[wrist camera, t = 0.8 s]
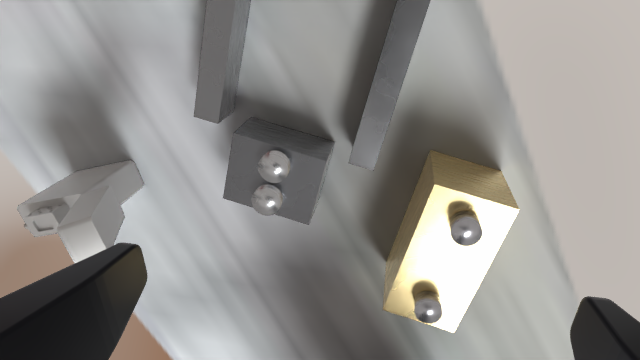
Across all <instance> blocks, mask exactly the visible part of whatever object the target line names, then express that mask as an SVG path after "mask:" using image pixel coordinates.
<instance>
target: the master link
mask: <svg viewBox="0 0 640 360" xmlns="http://www.w3.org/2000/svg"><path fill="white" fill-rule="evenodd" d="M518 211H519V208H518V206H517V203H516V201H515V199H514V197H513V195H512V193H511V191H510V189H509V187H508V184H507V182H506V180H505V178H504V176H503V174H502V172H501V171H499V170H496V169H492V168H489V167H486V166H482V165H479V164H476V163H472V162H469V161H465V160H462V159H459V158H455V157H452V156H449V155H445V154H442V153H438V152H435V151H432V150H430V152H429V155H428V157H427V160H426V162H425V165H424V167H423V170H422V172H421V175H420V178H419V180H418V183H417V185H416V188H415V190H414V193H413V195H412V198H411V200H410V203H409V206H408V208H407V211H406V213H405V216H404V218H403V221H402V223H401V226H400V229H399V231H398V234H397V236H396V239H395V241H394V244H393V246H392V249H391V251H390V254H389V257H388V259H387V262H386V272H385V285H384V298H383V310H385V311H388V312H391V313H394V314H397V315H400V316H403V317H407V318H410V319H413V320H416V321H419V322H422V323H425V324H428V325H432V326H435V327H438V328H441V329H444V330H447V331H450V332H455V330H456V328H457V326H458V324H459V322H460V320H461V318H462V317H463V315H464V313H465V311H466V309H467V307H468V305H469V303H470V302H471V300H472V298H473V296H474V294H475V292H476V290H477V288H478V287H479V285H480V283H481V281H482V279H483V277H484V275H485V273H486V272H487V270H488V268H489V266H490V264H491V262H492V260H493V258H494V257H495V255H496V253H497V251H498V249H499V247H500V245H501V243H502V242H503V240H504V238H505V236H506V234H507V232H508V230H509V228H510V227H511V225H512V223H513V221H514V219H515V217H516V215H517V213H518Z"/></svg>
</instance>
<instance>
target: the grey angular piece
mask: <svg viewBox="0 0 640 360" xmlns="http://www.w3.org/2000/svg"><path fill="white" fill-rule="evenodd" d="M143 186H144V182H143V180H142V178H141V176H140V174H139V171H138V169H137V167H136V165H135V163H134V162H133V161H131V160H128V161H123V162H118V163H113V164H108V165H104V166H99V167H94V168H89V169H84V170H79V171H76V172H74V173H72V174H71V175H69V176H67V177H65V178H64V179H62V180H60V181H59V182H57V183H55V184H54V185H52V186H50V187H49V188H47V189H45V190H43V191H42V192H40V193H38V194H37V195H35V196H33V197H32V198H30V199H28V200H27V201H25V202H23V203H21V204H20V205H18V207H17V210H18V212H19V214H20V215H21V217H22V219H23V220H24V222H25V224H24V227H25V228H26V229H28V230H29V231H30V232H31V233H32V234H33V235H34V237H38V236H45V235H50V234H57V233H58V235H59V236H60V238H61V240H62V242H63V243H64V245H65V247H66V249H67V250H68V252H69V254H70V256H71V258H72V260H73V261H74V263H77V262H79V261H81V260H83V259H86V258H88V257H90V256H92V255H94V254H96V253H99V252H101V251H103V250H105V249H107V248H109V247H111V246H113V245H114V242H115V240H116V237H117V235H118V232H119V230H120V227H121V225H122V223H123V220H124V218H125V216H124V212H123V210H122V208H121V206H120V205H122V204H123V203H124V202H125V201H127V200H128V199H129V198H130V197H132V196H133V195H134V194H135V193H137V192H138V191H139V190H140V189H142V188H143Z"/></svg>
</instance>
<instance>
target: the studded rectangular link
mask: <svg viewBox="0 0 640 360" xmlns="http://www.w3.org/2000/svg"><path fill="white" fill-rule="evenodd" d="M250 3H251V0H207V5H206V13H205V22H204V31H203V40H202V49H201V57H200V66H199V75H198V84H197V93H196V101H195V110H194V117H197V118H200V119H204V120H207V121H210V122H214V123H217V124H218V123H220V122H221V121H222V120H224V119H225V118H226V117H227V116H229V115H230V114H231V113H232V112H233V111H234V105H235V98H236V92H237V86H238V79H239V73H240V66H241V60H242V54H243V47H244V41H245V35H246V28H247V22H248V16H249V9H250ZM429 3H430V0H397V3H396V6H395V9H394V13H393V16H392V19H391V23H390V26H389V29H388V33H387V36H386V39H385V43H384V46H383V49H382V52H381V56H380V59H379V62H378V66H377V69H376V72H375V76H374V79H373V82H372V86H371V89H370V92H369V96H368V99H367V102H366V106H365V109H364V112H363V115H362V119H361V122H360V125H359V129H358V132H357V135H356V139H355V142H354V145H353V149H352V152H351V155H350V159H349V162H348V163H350V164H353V165H356V166H360V167H363V168H366V169H370V170H373V171H374V168H375V165H376V162H377V159H378V156H379V153H380V150H381V147H382V144H383V141H384V138H385V135H386V132H387V129H388V126H389V123H390V120H391V117H392V114H393V111H394V108H395V105H396V102H397V99H398V96H399V93H400V90H401V87H402V84H403V81H404V78H405V75H406V72H407V69H408V66H409V63H410V60H411V57H412V54H413V51H414V48H415V45H416V42H417V39H418V36H419V33H420V30H421V27H422V24H423V21H424V18H425V15H426V12H427V9H428V6H429ZM334 143H335V142H333V141H329V140H326V139H323V138H319V137H316V136H313V135H309V134H306V133H303V132H299V131H296V130H293V129H289V128H286V127H283V126H279V125H276V124H273V123H269V122H266V121H263V120H259V119H256V118H252V117H251V118H250V119H249V120H247V121H246V122H245V123H244V124H243V125H242V126H241V127H240V128H239V129H238V130H236V131H235V132H234V133H233V140H232V146H231V152H230V158H229V165H228V171H227V177H226V183H225V189H224V196H223V198H224V199H227V200H231V201H234V202H237V203H240V204H243V205H247V206H250V207H253V208H254V209H255V210H256V211H257V212H258V213H260V214H262V215H267V216H269V215H273V214H276V215H279V216H282V217H285V218H288V219H292V220H295V221H298V222H301V223H304V224H308V225H309V223H310V221H311V218H312V216H313V213H314V211H315V208H316V206H317V203H318V200H319V197H320V193H321V190H322V186H323V183H324V179H325V175H326V172H327V168H328V165H329V161H330V157H331V154H332V150H333V147H334Z"/></svg>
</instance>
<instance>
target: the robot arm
mask: <svg viewBox="0 0 640 360" xmlns="http://www.w3.org/2000/svg"><path fill="white" fill-rule="evenodd" d="M146 282H147V270H146V266H145V262H144V258H143V254H142V250H141V248H140V246H139V245H137V244H131V243H118V244H116V245H114V246H111V247H109V248H107V249H105V250H103V251H101V252H99V253H96V254H94V255H92V256H90V257H88V258H86V259H83V260H81V261H79V262H77V263H75V264H73V265H71V266H69V267H66V268H64V269H62V270H60V271H58V272H56V273H53V274H51V275H49V276H47V277H45V278H43V279H41V280H38V281H36V282H34V283H32V284H30V285H28V286H26V287H23V288H21V289H19V290H17V291H15V292H13V293H10V294H8V295H6V296H4V297H2V298H0V360H108V359H109V358H110V356H111V354H112V352H113V351H114V349H115V347H116V345H117V343H118V341H119V339H120V338H121V336H122V333H123V331H124V329H125V327H126V325H127V323H128V321H129V319H130V317H131V314H132V312H133V310H134V308H135V306H136V304H137V302H138V300H139V298H140V295H141V293H142V291H143V289H144V287H145V285H146ZM570 339H571V344H572V349H573V354H574V358H575V360H640V322H639V321H637V320H636V319H635V318H633V317H632V316H631V315H630V314H628V313H627V312H626V311H624V310H623V309H622V308H620V307H619V306H618V305H617V304H615V303H614V302H612V301H611V300H609V299H606V298H598V297H589V296H588V297H585V298H583V299H582V301H581V302H580V305H579V308H578V310H577V313H576V315H575V318H574V321H573V323H572V326H571V330H570Z"/></svg>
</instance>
